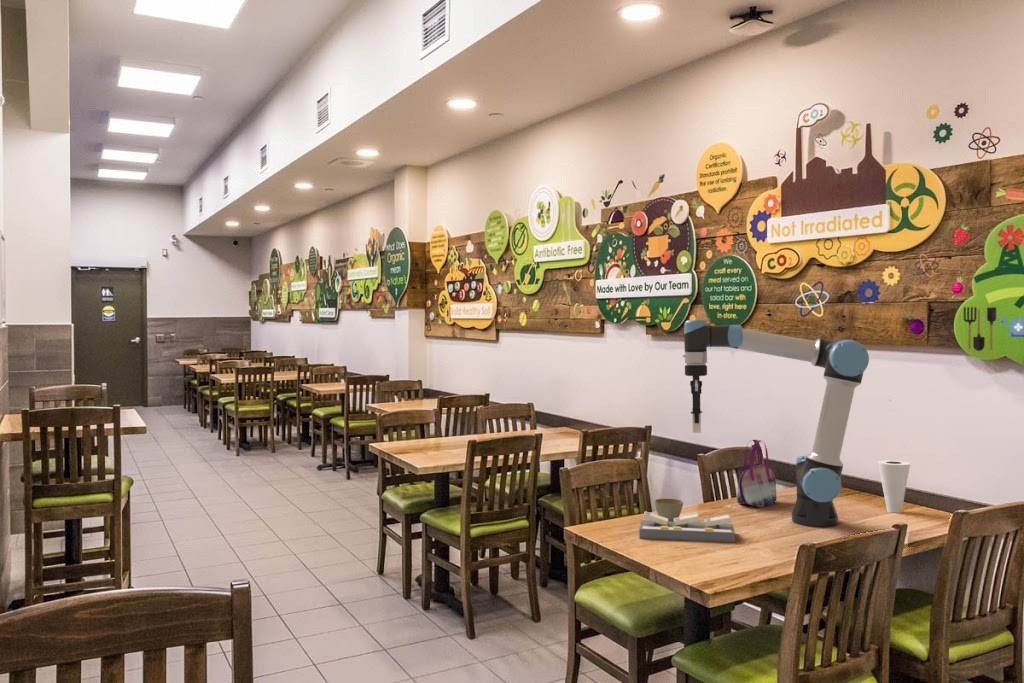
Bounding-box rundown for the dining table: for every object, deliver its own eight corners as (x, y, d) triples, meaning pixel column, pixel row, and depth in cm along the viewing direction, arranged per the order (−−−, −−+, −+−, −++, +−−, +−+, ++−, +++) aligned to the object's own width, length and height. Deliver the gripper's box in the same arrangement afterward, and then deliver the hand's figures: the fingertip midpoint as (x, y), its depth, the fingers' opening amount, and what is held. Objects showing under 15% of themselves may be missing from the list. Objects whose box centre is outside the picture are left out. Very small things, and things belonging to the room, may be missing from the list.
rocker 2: (698, 518, 248) (697, 513, 249) (699, 521, 245) (697, 515, 245) (674, 522, 250) (673, 517, 250) (674, 525, 246) (673, 520, 246)
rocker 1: (666, 523, 251) (668, 518, 251) (666, 526, 247) (668, 521, 247) (643, 515, 252) (644, 510, 252) (642, 518, 249) (644, 513, 248)
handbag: (750, 510, 281) (749, 443, 281) (728, 505, 289) (727, 441, 289) (784, 502, 293) (783, 438, 293) (763, 498, 301) (762, 436, 301)
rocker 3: (730, 519, 246) (728, 514, 246) (730, 522, 242) (729, 517, 242) (705, 523, 248) (704, 518, 248) (706, 526, 244) (704, 521, 244)
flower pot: (683, 525, 260) (683, 504, 260) (654, 524, 262) (654, 503, 262) (682, 518, 270) (682, 498, 270) (654, 517, 272) (654, 497, 272)
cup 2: (916, 511, 274) (915, 463, 274) (901, 516, 268) (900, 466, 268) (888, 506, 283) (887, 459, 283) (872, 510, 277) (871, 462, 277)
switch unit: (732, 532, 249) (732, 521, 249) (735, 542, 237) (734, 530, 237) (641, 529, 256) (641, 518, 256) (639, 538, 244) (639, 526, 244)
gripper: (684, 363, 266) (685, 429, 266) (684, 365, 254) (685, 434, 254) (706, 363, 265) (707, 430, 265) (707, 364, 252) (708, 434, 252)
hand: (696, 432), depth 259 cm, fingers closed
